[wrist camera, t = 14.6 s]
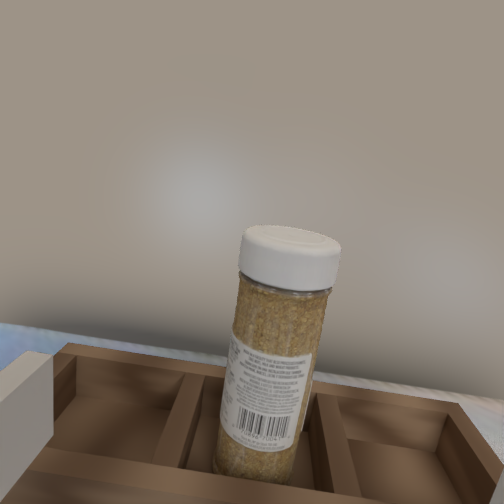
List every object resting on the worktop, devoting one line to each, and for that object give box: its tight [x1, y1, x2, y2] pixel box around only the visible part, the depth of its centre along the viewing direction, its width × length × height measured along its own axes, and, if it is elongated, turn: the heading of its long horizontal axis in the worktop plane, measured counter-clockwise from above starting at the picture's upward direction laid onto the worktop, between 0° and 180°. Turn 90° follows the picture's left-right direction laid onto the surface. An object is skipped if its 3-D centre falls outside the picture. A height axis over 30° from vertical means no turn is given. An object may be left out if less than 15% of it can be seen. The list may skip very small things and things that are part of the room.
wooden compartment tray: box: [0, 343, 504, 504], centre depth 20 cm, size 28×12×4 cm, turn 87°
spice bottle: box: [212, 225, 341, 486], centre depth 18 cm, size 5×5×14 cm
